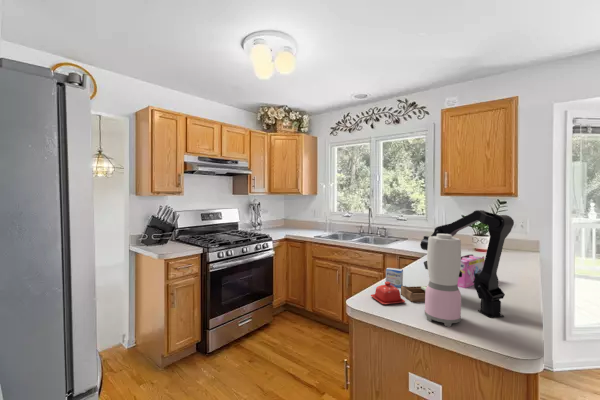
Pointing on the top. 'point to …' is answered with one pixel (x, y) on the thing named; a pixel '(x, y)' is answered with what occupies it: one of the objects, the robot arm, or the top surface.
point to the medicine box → (394, 277)
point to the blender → (443, 279)
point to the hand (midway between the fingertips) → (442, 287)
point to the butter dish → (387, 294)
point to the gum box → (469, 269)
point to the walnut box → (413, 293)
